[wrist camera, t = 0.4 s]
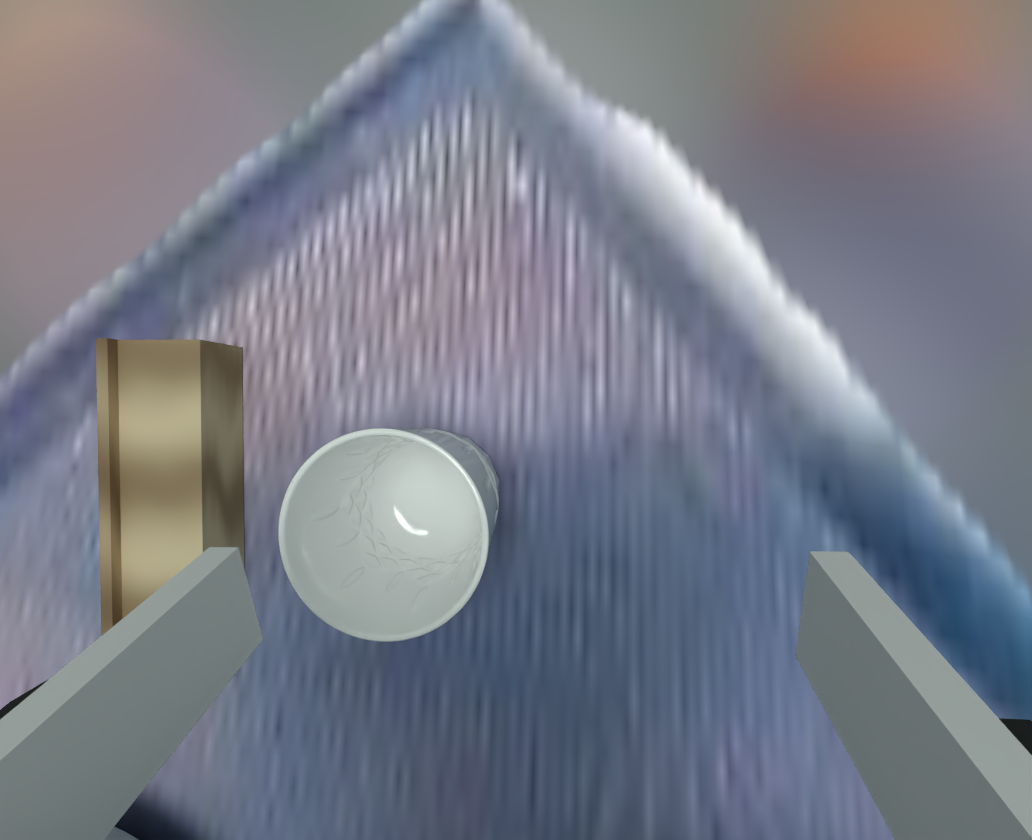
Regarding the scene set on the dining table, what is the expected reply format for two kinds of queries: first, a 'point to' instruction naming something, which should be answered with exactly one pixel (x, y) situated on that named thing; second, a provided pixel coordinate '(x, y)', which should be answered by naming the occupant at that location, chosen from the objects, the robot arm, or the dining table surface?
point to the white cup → (389, 530)
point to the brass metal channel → (165, 462)
